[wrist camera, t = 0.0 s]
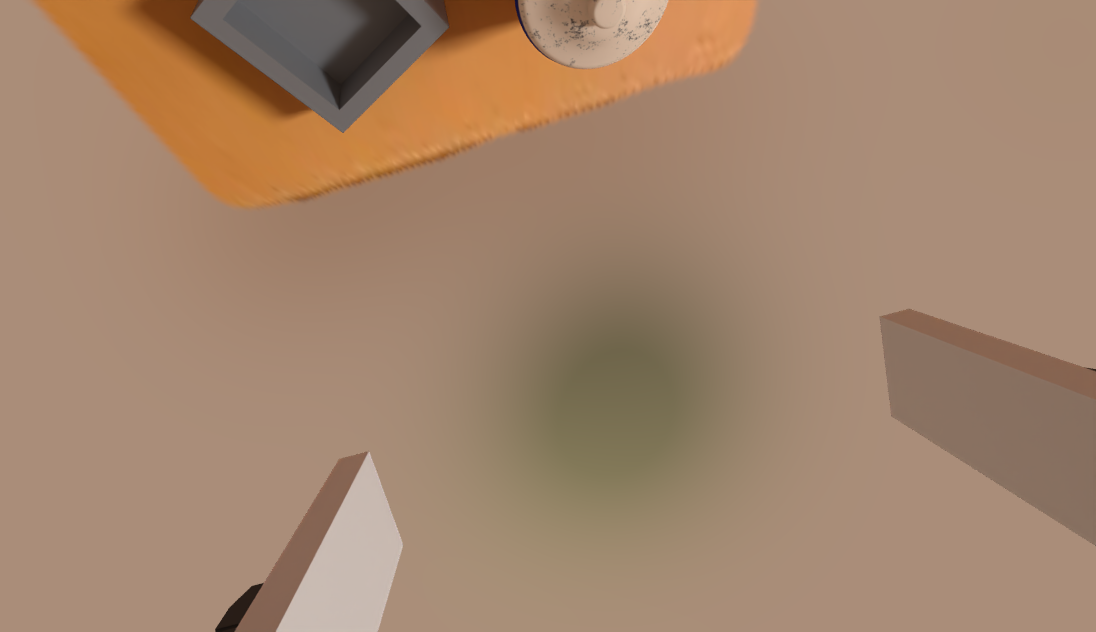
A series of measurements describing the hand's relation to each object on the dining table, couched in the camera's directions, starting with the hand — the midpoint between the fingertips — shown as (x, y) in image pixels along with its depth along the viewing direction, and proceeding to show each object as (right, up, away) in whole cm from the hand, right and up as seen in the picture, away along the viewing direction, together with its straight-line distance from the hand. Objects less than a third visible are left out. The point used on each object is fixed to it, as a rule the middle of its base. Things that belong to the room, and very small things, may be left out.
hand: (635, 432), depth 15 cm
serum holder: (-16, +24, +23) cm, 37 cm away
